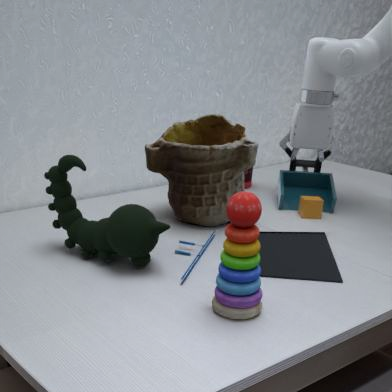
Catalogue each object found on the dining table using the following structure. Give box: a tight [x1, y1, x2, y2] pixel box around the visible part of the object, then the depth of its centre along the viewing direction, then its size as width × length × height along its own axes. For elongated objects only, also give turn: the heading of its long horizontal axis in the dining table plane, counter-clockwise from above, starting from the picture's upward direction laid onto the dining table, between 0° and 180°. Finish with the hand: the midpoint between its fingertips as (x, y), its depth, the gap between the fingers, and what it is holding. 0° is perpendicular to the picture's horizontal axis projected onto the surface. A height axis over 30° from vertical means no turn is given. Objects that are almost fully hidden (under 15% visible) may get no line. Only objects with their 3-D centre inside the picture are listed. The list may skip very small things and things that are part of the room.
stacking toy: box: [211, 190, 263, 320], centre depth 75 cm, size 8×8×19 cm
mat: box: [257, 230, 344, 283], centre depth 105 cm, size 18×34×1 cm, turn 175°
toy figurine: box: [43, 154, 171, 269], centre depth 90 cm, size 9×19×25 cm
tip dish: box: [276, 158, 338, 214], centre depth 126 cm, size 13×16×6 cm
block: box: [297, 196, 324, 220], centre depth 119 cm, size 4×4×4 cm
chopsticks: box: [174, 229, 216, 286], centre depth 97 cm, size 1×25×5 cm
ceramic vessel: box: [144, 113, 260, 227], centre depth 111 cm, size 23×24×25 cm
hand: (303, 175), depth 130 cm, fingers closed on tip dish, 5 cm apart
